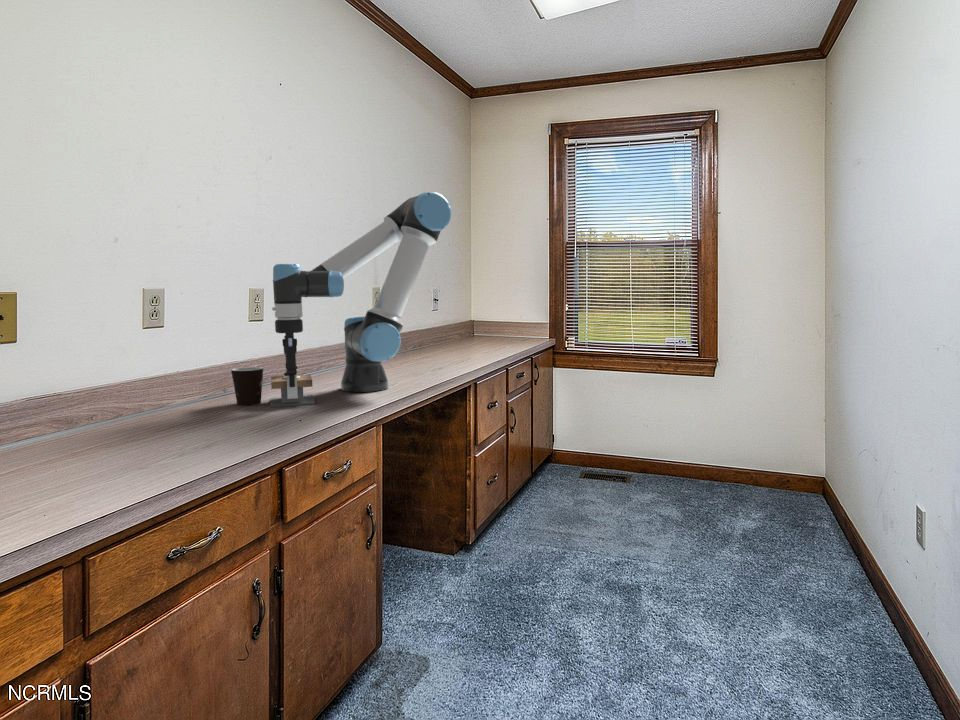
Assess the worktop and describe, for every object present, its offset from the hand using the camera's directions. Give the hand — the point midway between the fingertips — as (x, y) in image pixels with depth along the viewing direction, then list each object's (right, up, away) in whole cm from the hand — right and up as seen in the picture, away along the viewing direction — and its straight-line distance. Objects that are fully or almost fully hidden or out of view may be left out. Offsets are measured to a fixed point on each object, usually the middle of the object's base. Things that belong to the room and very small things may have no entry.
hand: (292, 395), depth 185 cm
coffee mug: (-12, -2, 0) cm, 12 cm away
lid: (0, +3, 0) cm, 3 cm away
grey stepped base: (0, -2, 0) cm, 2 cm away
